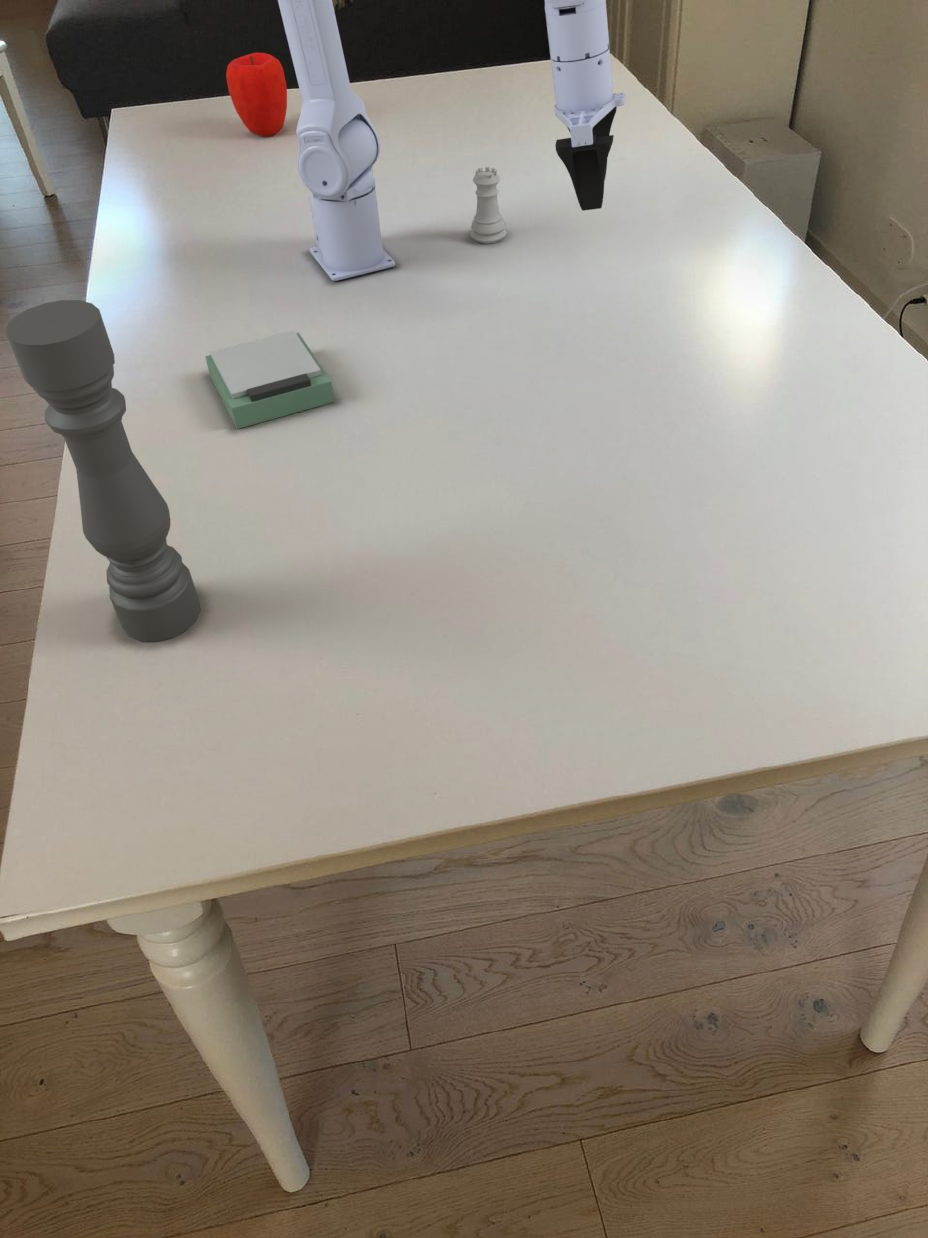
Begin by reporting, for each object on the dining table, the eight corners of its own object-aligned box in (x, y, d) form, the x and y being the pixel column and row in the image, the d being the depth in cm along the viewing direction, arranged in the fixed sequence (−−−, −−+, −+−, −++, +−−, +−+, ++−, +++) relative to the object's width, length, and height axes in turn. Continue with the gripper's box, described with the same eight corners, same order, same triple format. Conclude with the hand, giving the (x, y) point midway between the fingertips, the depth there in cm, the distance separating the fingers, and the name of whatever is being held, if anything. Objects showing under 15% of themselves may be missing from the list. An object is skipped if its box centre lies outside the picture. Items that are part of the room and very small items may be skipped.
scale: (210, 376, 105) (203, 349, 103) (302, 352, 107) (297, 325, 105) (237, 429, 98) (230, 401, 95) (335, 402, 100) (330, 374, 98)
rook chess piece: (511, 230, 126) (509, 164, 120) (500, 246, 123) (498, 179, 117) (477, 227, 127) (474, 162, 122) (465, 242, 124) (462, 176, 119)
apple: (247, 122, 160) (232, 46, 152) (300, 121, 159) (288, 45, 151) (230, 142, 154) (214, 64, 146) (285, 142, 153) (272, 63, 145)
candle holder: (127, 591, 82) (14, 302, 64) (204, 583, 82) (112, 293, 64) (115, 645, 77) (-11, 351, 60) (196, 637, 77) (94, 342, 60)
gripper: (618, 67, 92) (630, 216, 101) (623, 26, 102) (633, 164, 111) (542, 79, 93) (559, 225, 102) (554, 37, 104) (569, 173, 113)
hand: (593, 194), depth 107 cm, fingers open, 7 cm apart
